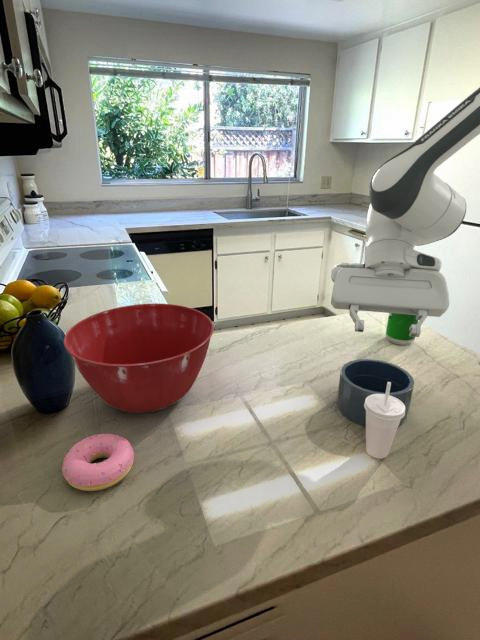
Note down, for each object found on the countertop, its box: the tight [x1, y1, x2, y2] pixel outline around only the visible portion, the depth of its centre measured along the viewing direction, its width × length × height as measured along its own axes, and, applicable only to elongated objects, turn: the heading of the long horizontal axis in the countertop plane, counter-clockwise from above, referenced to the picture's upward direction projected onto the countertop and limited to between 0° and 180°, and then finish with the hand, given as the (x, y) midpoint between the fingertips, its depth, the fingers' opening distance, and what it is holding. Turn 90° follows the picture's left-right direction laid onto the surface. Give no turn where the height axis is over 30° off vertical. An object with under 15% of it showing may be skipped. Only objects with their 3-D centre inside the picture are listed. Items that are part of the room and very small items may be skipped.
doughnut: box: [61, 432, 135, 492], centre depth 64 cm, size 11×11×4 cm
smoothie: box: [364, 382, 405, 460], centre depth 67 cm, size 6×6×14 cm
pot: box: [336, 358, 415, 428], centre depth 80 cm, size 14×14×8 cm
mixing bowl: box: [63, 302, 215, 414], centre depth 82 cm, size 28×28×16 cm
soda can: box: [385, 313, 419, 346], centre depth 109 cm, size 8×8×12 cm
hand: (386, 333), depth 71 cm, fingers open, 8 cm apart
